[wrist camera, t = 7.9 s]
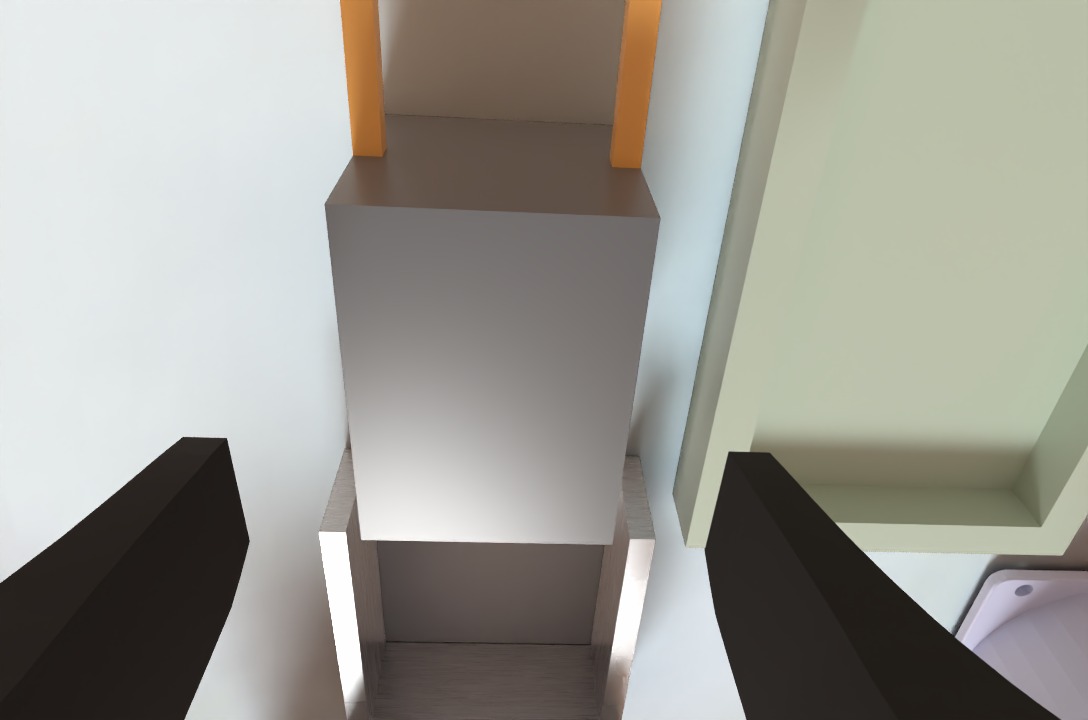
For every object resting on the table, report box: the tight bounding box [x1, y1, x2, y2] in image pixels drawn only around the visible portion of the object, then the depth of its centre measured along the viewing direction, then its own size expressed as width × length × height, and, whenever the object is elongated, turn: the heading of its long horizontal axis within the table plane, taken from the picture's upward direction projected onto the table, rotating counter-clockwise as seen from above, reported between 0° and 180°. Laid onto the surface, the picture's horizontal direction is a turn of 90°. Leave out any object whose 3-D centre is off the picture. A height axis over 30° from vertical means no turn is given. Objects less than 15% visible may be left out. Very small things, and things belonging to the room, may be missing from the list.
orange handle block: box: [325, 0, 662, 545], centre depth 14 cm, size 5×12×5 cm, turn 177°
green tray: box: [673, 0, 1088, 556], centre depth 16 cm, size 10×17×2 cm, turn 177°
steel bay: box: [319, 448, 656, 720], centre depth 20 cm, size 8×11×6 cm
